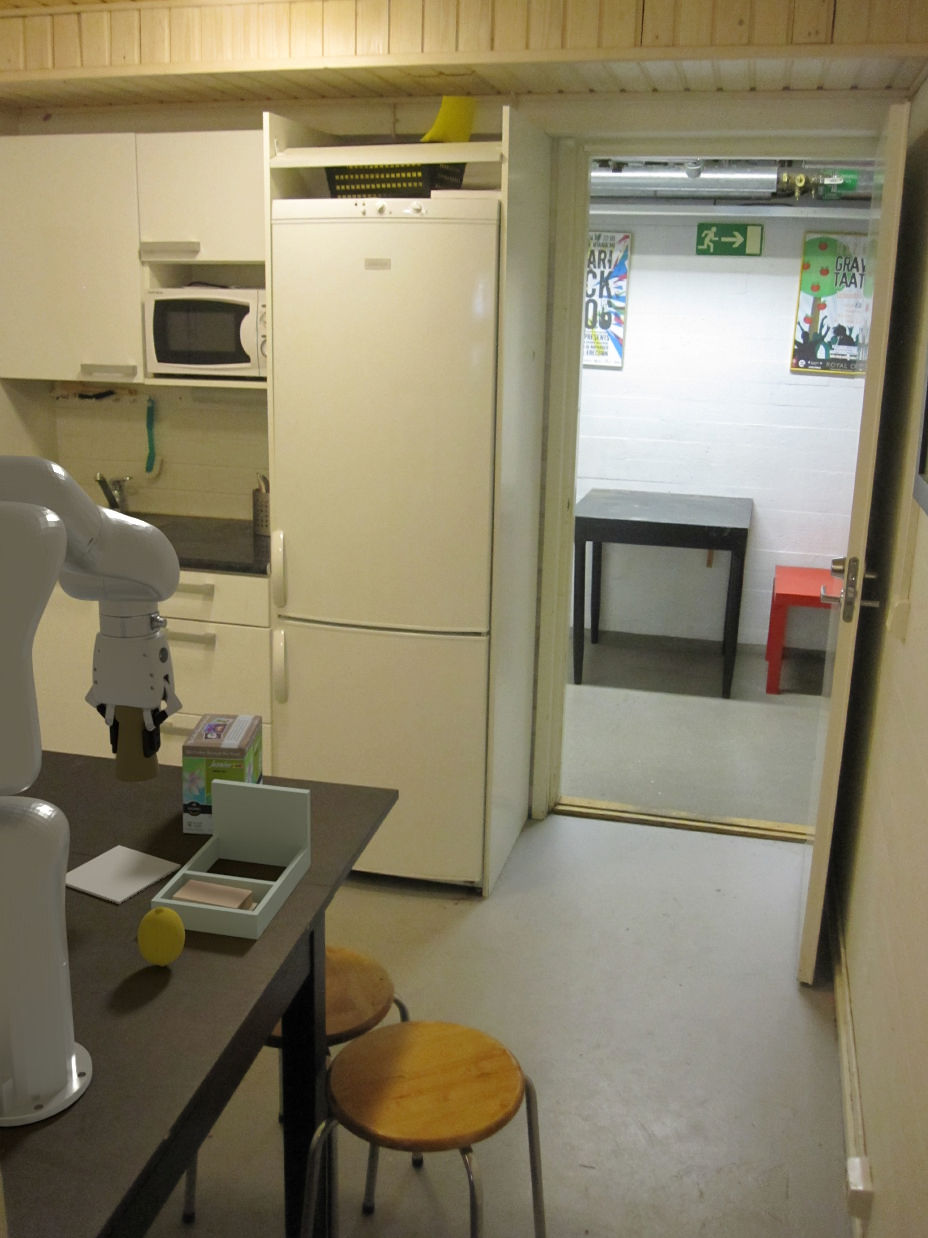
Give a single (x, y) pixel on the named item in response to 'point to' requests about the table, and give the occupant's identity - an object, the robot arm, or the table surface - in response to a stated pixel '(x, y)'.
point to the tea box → (218, 763)
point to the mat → (119, 874)
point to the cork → (132, 747)
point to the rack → (246, 855)
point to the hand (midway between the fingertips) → (135, 751)
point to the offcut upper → (214, 895)
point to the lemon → (161, 936)
